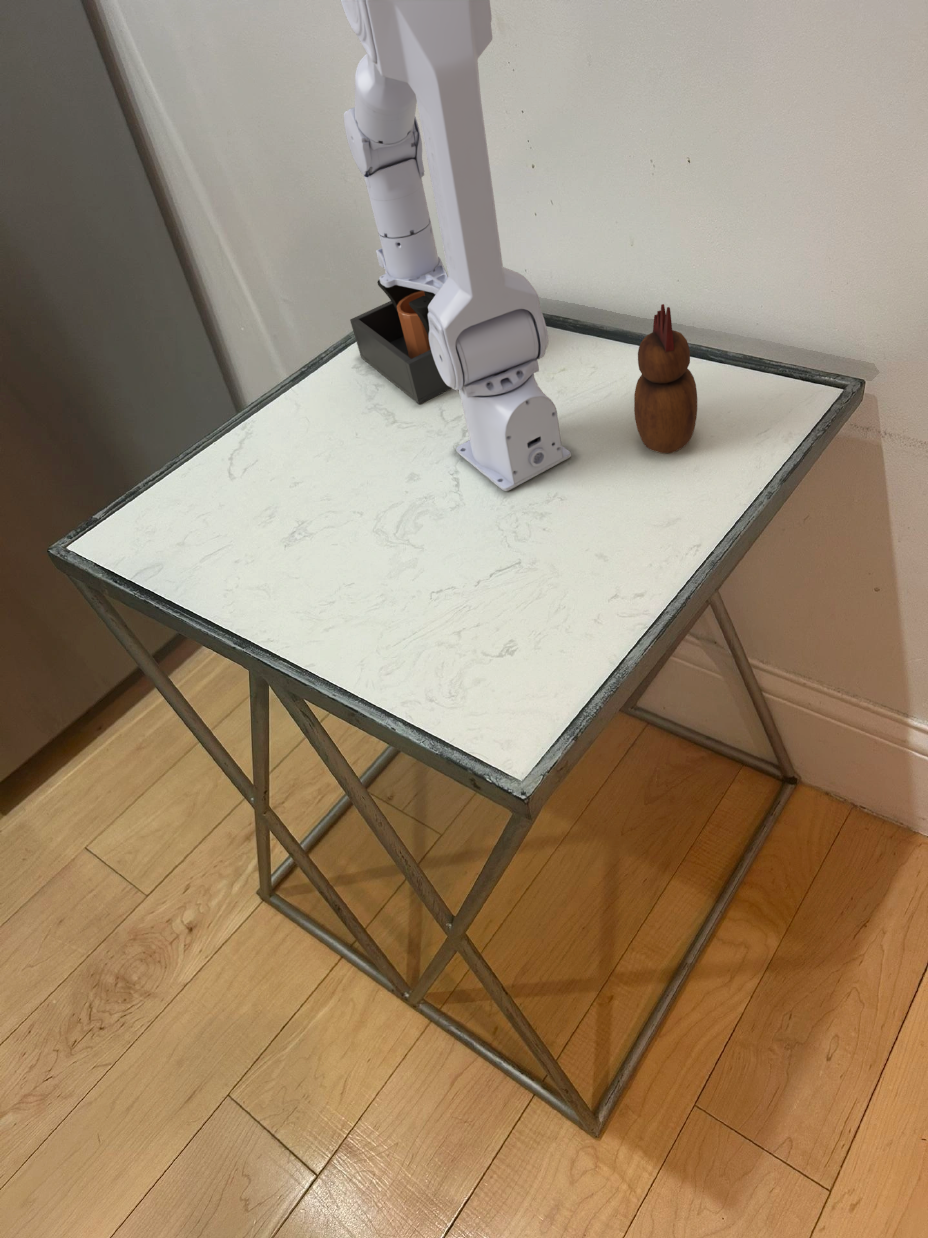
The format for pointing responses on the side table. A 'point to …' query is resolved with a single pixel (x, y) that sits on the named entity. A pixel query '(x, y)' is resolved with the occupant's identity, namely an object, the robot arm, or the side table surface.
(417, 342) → the pot
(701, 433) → the side table surface
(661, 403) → the wooden figurine
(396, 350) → the dark grey storage bin
